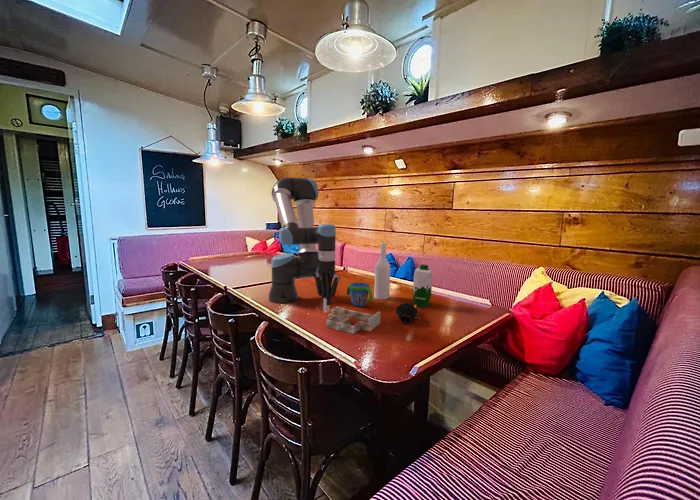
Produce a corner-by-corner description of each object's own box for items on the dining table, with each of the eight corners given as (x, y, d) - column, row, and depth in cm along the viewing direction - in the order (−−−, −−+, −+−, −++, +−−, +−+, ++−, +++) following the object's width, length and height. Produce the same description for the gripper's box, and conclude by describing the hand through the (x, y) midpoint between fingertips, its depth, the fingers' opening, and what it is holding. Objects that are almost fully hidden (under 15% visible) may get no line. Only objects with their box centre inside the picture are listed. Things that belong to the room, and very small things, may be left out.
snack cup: (341, 302, 158) (341, 283, 156) (356, 298, 164) (357, 280, 163) (361, 310, 146) (361, 290, 144) (377, 306, 152) (378, 286, 151)
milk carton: (431, 303, 159) (433, 265, 156) (429, 308, 151) (431, 268, 148) (414, 300, 163) (416, 263, 160) (411, 305, 154) (413, 266, 151)
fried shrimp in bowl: (391, 314, 129) (395, 290, 145) (401, 334, 133) (404, 308, 148) (412, 309, 126) (414, 285, 141) (422, 329, 129) (422, 303, 145)
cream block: (330, 319, 135) (330, 309, 134) (336, 316, 139) (336, 306, 138) (339, 321, 133) (339, 311, 132) (344, 318, 136) (345, 308, 136)
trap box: (320, 325, 127) (320, 314, 127) (339, 314, 141) (340, 303, 140) (363, 336, 118) (364, 324, 117) (380, 323, 131) (380, 311, 131)
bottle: (378, 294, 173) (380, 241, 168) (391, 297, 168) (393, 242, 164) (371, 297, 166) (373, 242, 162) (384, 300, 162) (386, 244, 157)
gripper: (309, 259, 135) (309, 311, 138) (334, 262, 128) (334, 317, 132) (319, 257, 141) (319, 306, 144) (343, 260, 135) (343, 311, 138)
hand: (326, 311), depth 138 cm, fingers closed
